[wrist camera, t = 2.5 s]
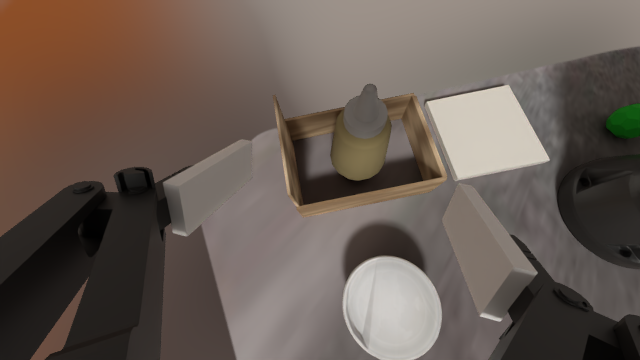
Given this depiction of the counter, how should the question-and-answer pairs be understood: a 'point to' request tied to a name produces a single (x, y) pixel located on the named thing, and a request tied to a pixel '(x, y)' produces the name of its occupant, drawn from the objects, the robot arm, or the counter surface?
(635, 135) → the polyhedron
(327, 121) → the wooden box
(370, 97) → the squeeze bottle
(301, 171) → the counter surface
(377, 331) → the ramekin
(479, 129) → the cutting board
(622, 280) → the counter surface
